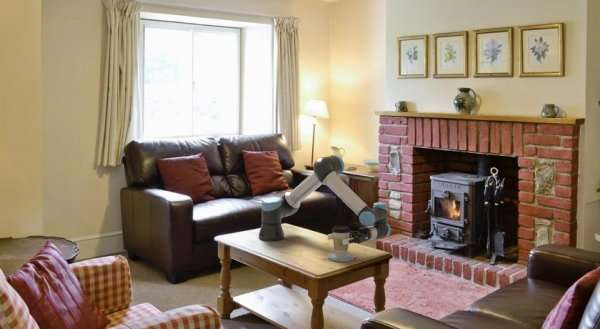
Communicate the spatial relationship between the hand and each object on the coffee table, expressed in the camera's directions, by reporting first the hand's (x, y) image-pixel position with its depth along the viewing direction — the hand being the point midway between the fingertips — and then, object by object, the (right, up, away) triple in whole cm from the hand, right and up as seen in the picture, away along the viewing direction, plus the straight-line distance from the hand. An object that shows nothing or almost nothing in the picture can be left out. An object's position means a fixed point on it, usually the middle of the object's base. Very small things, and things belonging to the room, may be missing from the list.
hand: (335, 239), depth 301 cm
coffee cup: (+3, -9, +4) cm, 10 cm away
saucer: (+3, -10, +4) cm, 11 cm away
